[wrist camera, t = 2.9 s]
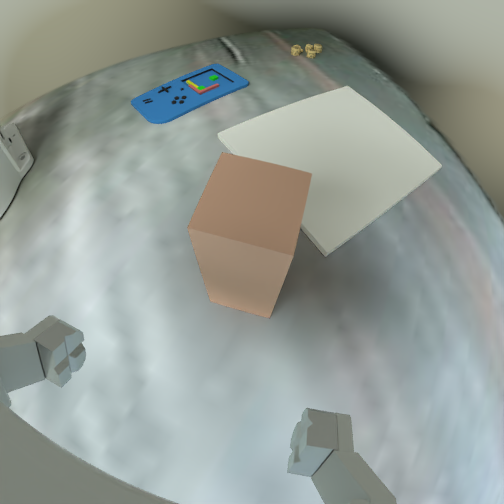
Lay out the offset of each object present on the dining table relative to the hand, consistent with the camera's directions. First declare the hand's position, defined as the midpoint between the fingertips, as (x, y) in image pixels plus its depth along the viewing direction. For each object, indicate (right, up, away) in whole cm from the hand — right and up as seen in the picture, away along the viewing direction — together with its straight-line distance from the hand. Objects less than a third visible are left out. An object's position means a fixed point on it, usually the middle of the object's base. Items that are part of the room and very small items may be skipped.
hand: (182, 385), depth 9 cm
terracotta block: (+2, +2, +16) cm, 17 cm away
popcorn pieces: (+12, +39, +35) cm, 54 cm away
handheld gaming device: (-6, +26, +28) cm, 39 cm away
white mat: (+13, +16, +24) cm, 31 cm away
